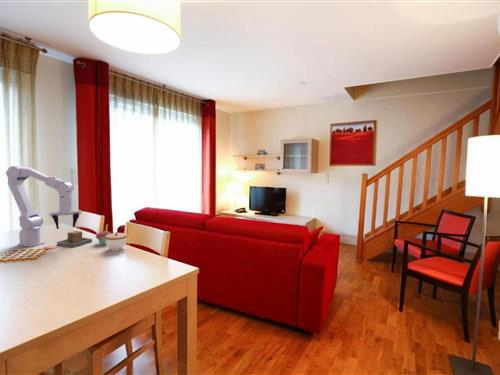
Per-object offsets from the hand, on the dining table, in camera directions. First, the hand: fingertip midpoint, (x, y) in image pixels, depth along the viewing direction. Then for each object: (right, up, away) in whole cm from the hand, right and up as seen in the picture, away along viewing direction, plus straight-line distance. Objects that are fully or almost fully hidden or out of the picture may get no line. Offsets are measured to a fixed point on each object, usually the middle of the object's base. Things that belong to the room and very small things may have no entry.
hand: (65, 227), depth 151 cm
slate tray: (+2, -10, +4) cm, 11 cm away
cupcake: (+19, -10, +6) cm, 22 cm away
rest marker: (-5, -10, -5) cm, 12 cm away
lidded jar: (+30, -11, -4) cm, 33 cm away
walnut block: (+3, -9, +4) cm, 10 cm away
